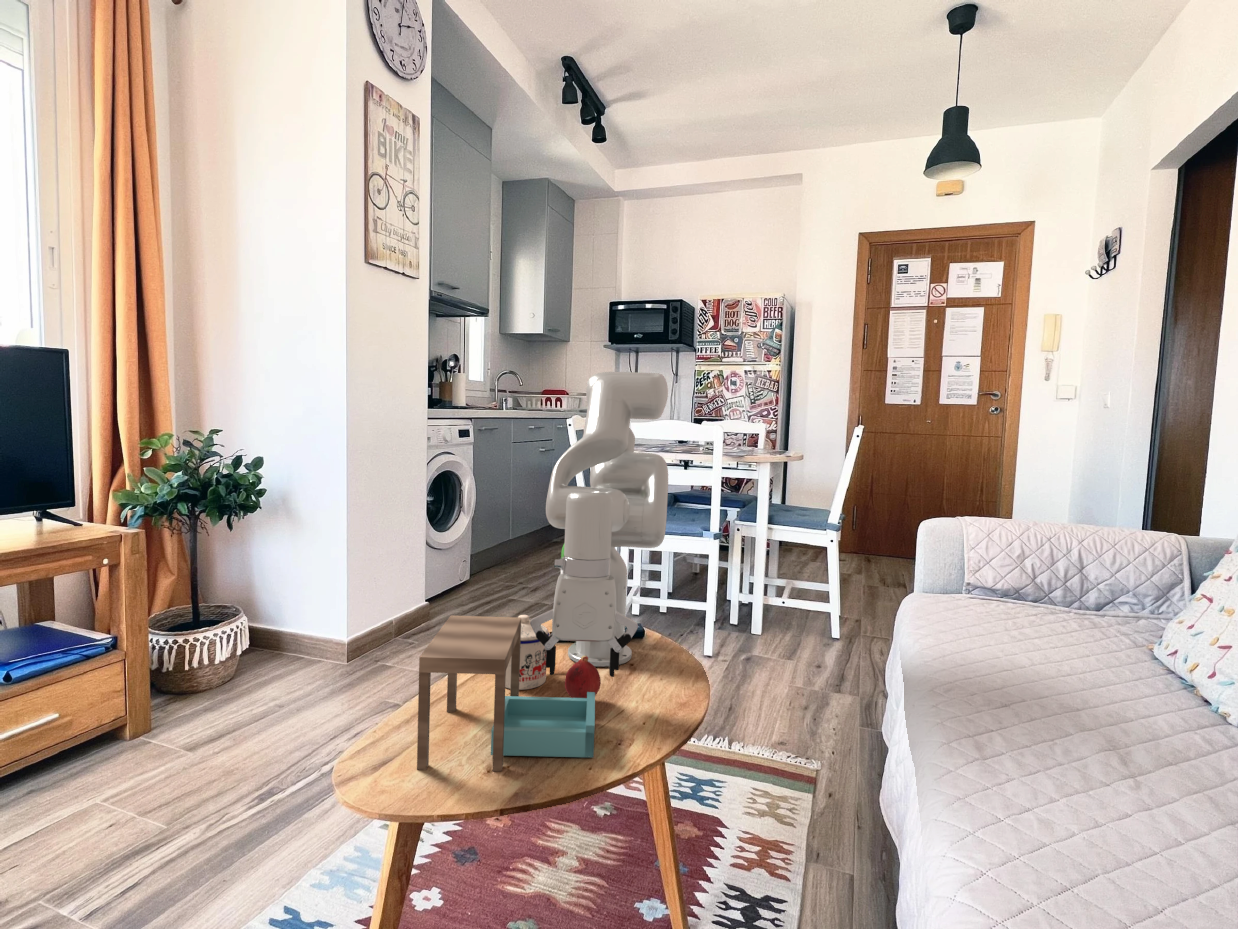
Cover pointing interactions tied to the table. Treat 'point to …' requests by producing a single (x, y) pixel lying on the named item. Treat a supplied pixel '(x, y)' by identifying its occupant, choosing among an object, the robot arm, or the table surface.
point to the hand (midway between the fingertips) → (582, 673)
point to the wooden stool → (470, 670)
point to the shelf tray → (548, 726)
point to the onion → (582, 679)
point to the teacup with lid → (529, 658)
